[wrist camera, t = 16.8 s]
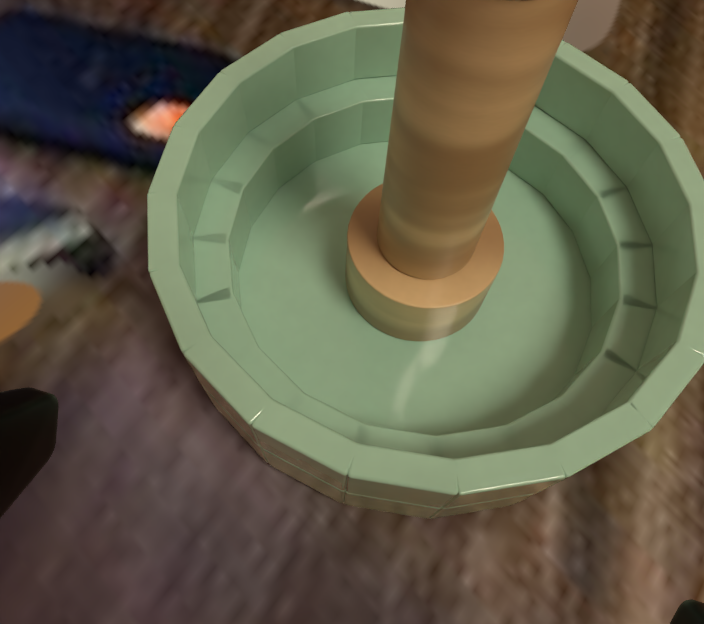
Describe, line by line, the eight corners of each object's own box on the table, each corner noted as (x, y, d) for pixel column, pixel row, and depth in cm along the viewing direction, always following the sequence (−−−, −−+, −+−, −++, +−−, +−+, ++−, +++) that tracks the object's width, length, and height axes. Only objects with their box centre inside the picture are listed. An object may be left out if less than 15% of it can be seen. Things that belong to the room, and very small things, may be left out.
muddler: (489, 346, 19) (792, -136, 7) (341, 337, 19) (360, -164, 7) (482, 223, 21) (702, -323, 9) (348, 214, 21) (375, -344, 9)
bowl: (432, 644, 16) (471, 663, 11) (96, 279, 20) (29, 190, 16) (721, 289, 21) (827, 205, 17) (401, 60, 26) (416, -55, 21)
